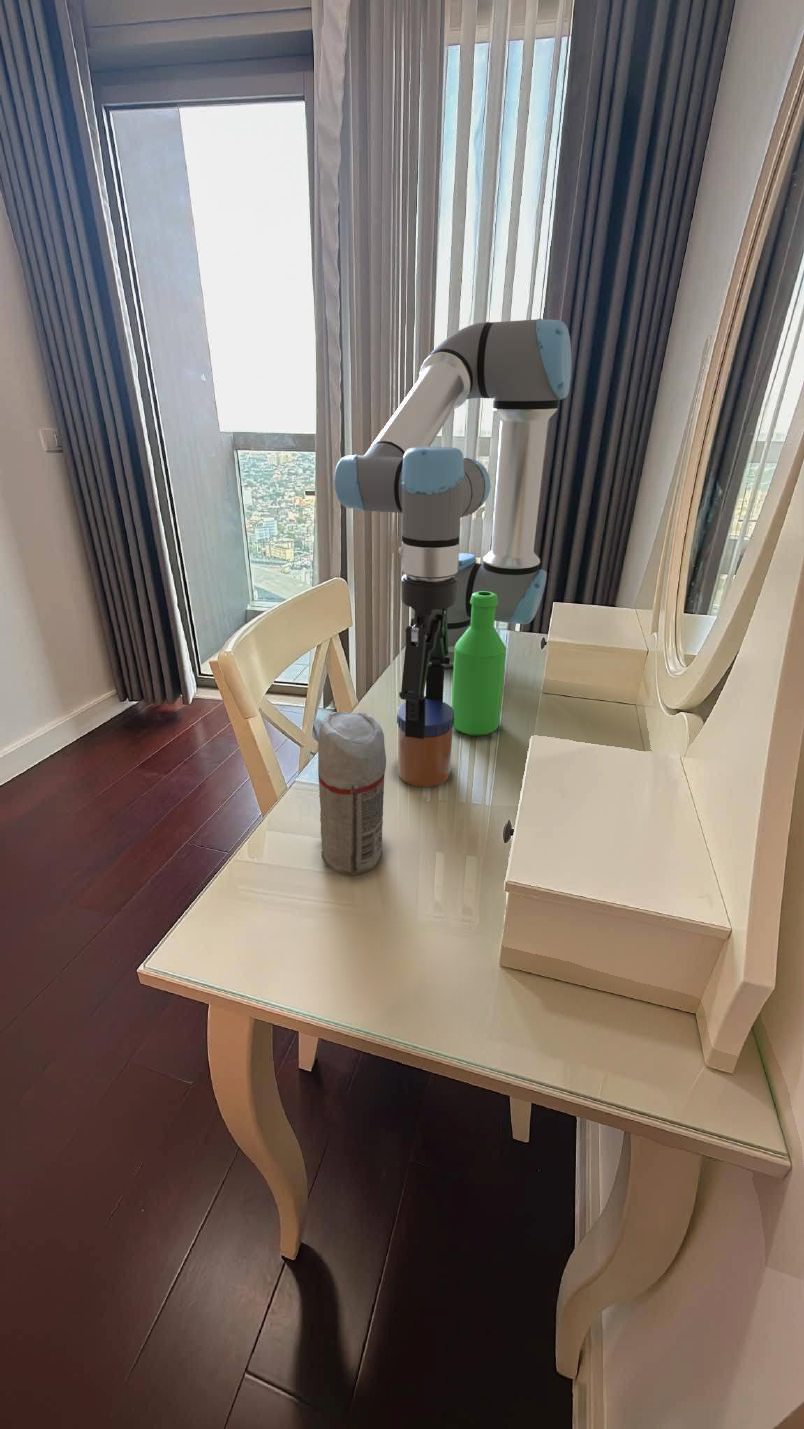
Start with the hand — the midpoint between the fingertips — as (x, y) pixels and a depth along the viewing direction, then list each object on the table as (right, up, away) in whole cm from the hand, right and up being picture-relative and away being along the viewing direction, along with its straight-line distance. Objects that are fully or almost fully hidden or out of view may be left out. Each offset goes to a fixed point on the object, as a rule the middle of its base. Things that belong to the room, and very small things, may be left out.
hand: (425, 718), depth 86 cm
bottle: (+10, -2, +18) cm, 21 cm away
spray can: (-10, -18, -11) cm, 23 cm away
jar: (0, -9, +5) cm, 10 cm away
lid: (0, +1, 0) cm, 1 cm away
